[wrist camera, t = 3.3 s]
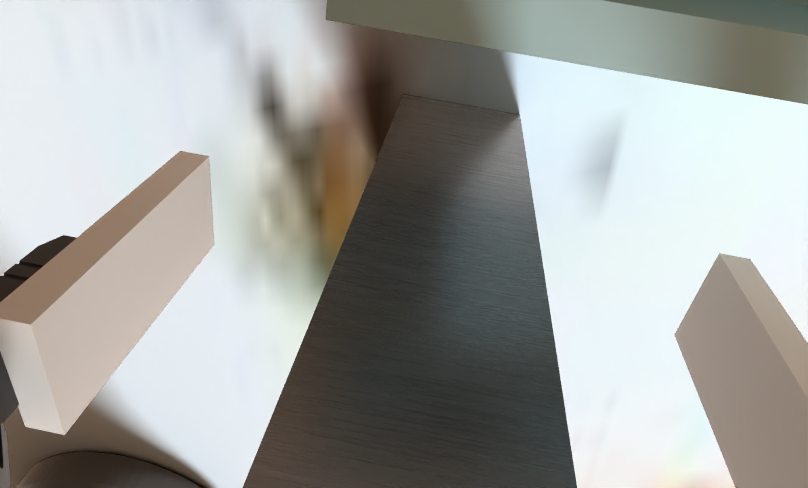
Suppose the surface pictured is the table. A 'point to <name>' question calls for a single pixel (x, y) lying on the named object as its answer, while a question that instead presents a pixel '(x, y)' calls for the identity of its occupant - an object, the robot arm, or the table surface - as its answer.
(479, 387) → the brushed steel bar
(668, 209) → the table surface
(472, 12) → the grey-green open box
